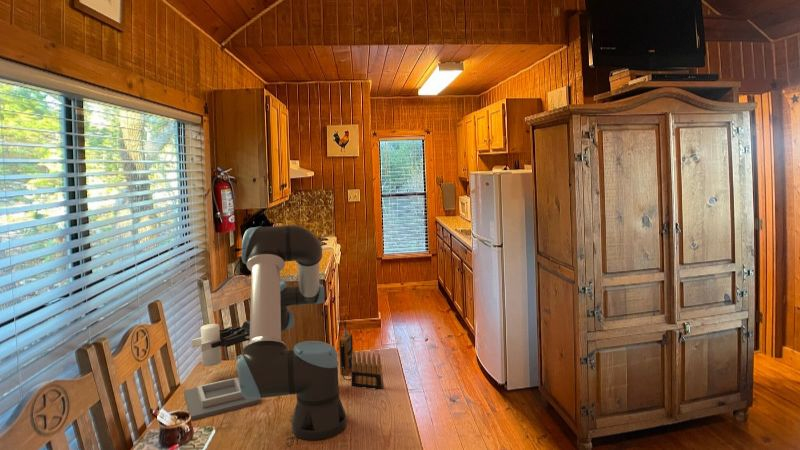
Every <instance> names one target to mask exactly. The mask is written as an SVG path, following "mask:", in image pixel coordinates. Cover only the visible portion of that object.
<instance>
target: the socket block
mask: <svg viewBox="0 0 800 450" xmlns="http://www.w3.org/2000/svg"><path fill="white" fill-rule="evenodd" d="M183 395H184V396H183V397H184V399H185V403H186V407H187V411H188V414H189V413H190V415H191V421H194V420H199V419H202V418H203V419H204V418H206V417H210V416H215V415H218V414H222V413H226V412H229V411H233V410H237V409H241V408H245V407H248V406H249V407H250V406H253V405H257V404H261V399H246V398H244V397H243V395H242V393H241V390H240V385H239V379H238V376H237V377H232V378H228V379H224V380H218V381H214V382H209V383H206V384H205V383H204V384H201V385H197V386H196V387H194V388H188V389H185V390H183Z"/></svg>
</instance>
